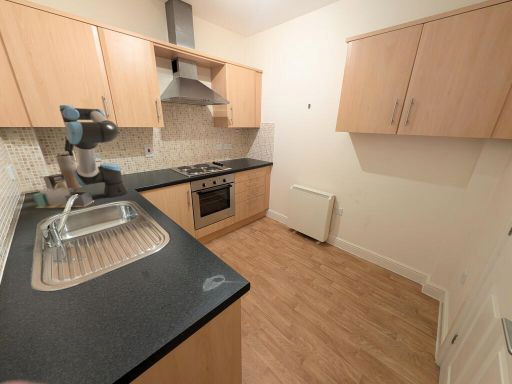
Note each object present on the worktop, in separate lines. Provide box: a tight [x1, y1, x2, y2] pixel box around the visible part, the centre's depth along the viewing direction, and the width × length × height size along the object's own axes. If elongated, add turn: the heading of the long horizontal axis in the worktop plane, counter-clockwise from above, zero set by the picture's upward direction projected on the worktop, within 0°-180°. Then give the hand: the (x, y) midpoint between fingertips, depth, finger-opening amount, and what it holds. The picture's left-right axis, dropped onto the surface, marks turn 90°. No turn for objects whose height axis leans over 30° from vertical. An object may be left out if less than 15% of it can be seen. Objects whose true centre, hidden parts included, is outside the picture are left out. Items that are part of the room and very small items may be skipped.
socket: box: [32, 192, 46, 207], centre depth 132 cm, size 5×8×8 cm, turn 4°
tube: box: [39, 187, 77, 205], centre depth 132 cm, size 18×5×10 cm, turn 94°
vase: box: [55, 153, 83, 190], centre depth 163 cm, size 10×10×28 cm
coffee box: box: [43, 173, 67, 189], centre depth 147 cm, size 9×6×16 cm
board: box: [34, 200, 95, 209], centre depth 134 cm, size 30×10×1 cm, turn 94°
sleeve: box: [65, 191, 94, 206], centre depth 134 cm, size 10×8×7 cm
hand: (81, 158), depth 149 cm, fingers open, 13 cm apart
